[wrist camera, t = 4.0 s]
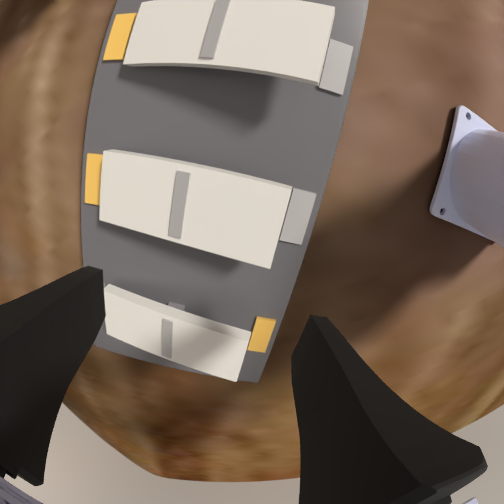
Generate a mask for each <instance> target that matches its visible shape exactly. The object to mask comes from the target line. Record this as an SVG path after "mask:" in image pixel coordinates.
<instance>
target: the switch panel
mask: <svg viewBox="0 0 504 504" xmlns="http://www.w3.org/2000/svg"><path fill="white" fill-rule="evenodd" d="M147 1H153V0H117V3H116V5H115V8H114V11H113V14H112V17H111V20H110V23H109V26H108V29H107V32H106V35H105V39H104V42H103V46H102V49H101V53H100V57H99V61H98V65H97V69H96V74H95V78H94V83H93V88H92V93H91V99H90V105H89V111H88V118H87V125H86V133H85V142H84V152H83V165H82V184H81V236H82V255H83V267H86V266H91V267H95V268H99V269H102V270H103V283H104V288H105V287H106V286H107V285H108V284H111V285H114V286H116V287H119V288H121V289H124V290H127V291H129V292H132V293H134V294H137V295H140V296H142V297H145V298H148V299H151V300H153V301H156V302H159V303H162V304H165V305H167V306H170V307H173V308H176V309H179V310H182V311H185V312H188V313H191V314H194V315H197V316H200V317H203V318H207V319H210V320H213V321H216V322H219V323H223V324H226V325H229V326H233V327H236V328H240V329H243V330H246V331H250V332H251V336H250V339H249V343H248V346H247V349H246V353H245V356H244V359H243V363H242V366H241V369H240V372H239V376H238V379H237V380H241V381H248V382H255V383H258V382H259V380H260V377H261V375H262V372H263V370H264V367H265V365H266V362H267V359H268V357H269V354H270V352H271V349H272V346H273V344H274V341H275V338H276V336H277V333H278V330H279V328H280V325H281V322H282V319H283V317H284V314H285V311H286V308H287V305H288V303H289V300H290V297H291V294H292V291H293V288H294V285H295V282H296V279H297V276H298V273H299V270H300V267H301V264H302V261H303V258H304V255H305V252H306V249H307V246H308V243H309V240H310V237H311V233H312V230H313V227H314V224H315V221H316V217H317V214H318V211H319V207H320V204H321V201H322V197H323V194H324V191H325V187H326V184H327V180H328V177H329V173H330V170H331V166H332V162H333V159H334V155H335V151H336V148H337V144H338V140H339V136H340V132H341V128H342V124H343V121H344V117H345V112H346V108H347V104H348V100H349V96H350V92H351V87H352V83H353V78H354V74H355V69H356V65H357V60H358V55H359V50H360V45H361V40H362V35H363V30H364V25H365V19H366V13H367V8H368V2H369V0H301V1H307V2H313V3H318V4H324V5H328V6H333V7H335V16H334V21H333V25H332V30H331V34H330V39H329V43H328V47H327V52H326V56H325V61H324V65H323V69H322V73H321V78H320V82H319V86H316V85H312V84H308V83H303V82H299V81H294V80H290V79H285V78H279V77H274V76H268V75H262V74H256V73H249V72H242V71H234V70H225V69H214V68H201V67H182V66H138V67H132V66H128V65H124V64H123V62H124V58H125V54H126V50H127V47H128V43H129V40H130V36H131V33H132V30H133V26H134V23H135V20H136V17H137V14H138V11H139V8H140V6H141V3H142V2H147ZM111 149H115V150H122V151H128V152H135V153H141V154H147V155H153V156H159V157H165V158H170V159H176V160H181V161H186V162H191V163H196V164H201V165H206V166H211V167H215V168H220V169H224V170H229V171H233V172H237V173H242V174H246V175H250V176H254V177H258V178H262V179H266V180H270V181H274V182H278V183H281V184H285V185H289V186H293V187H292V191H291V195H290V199H289V202H288V206H287V210H286V213H285V217H284V221H283V225H282V228H281V232H280V235H279V239H278V243H277V246H276V250H275V253H274V257H273V260H272V264H271V268H270V269H268V268H264V267H261V266H257V265H254V264H250V263H246V262H243V261H239V260H236V259H232V258H229V257H225V256H222V255H218V254H215V253H211V252H208V251H204V250H201V249H197V248H194V247H190V246H187V245H183V244H180V243H176V242H173V241H169V240H166V239H162V238H159V237H155V236H152V235H149V234H145V233H142V232H138V231H135V230H132V229H128V228H125V227H121V226H118V225H115V224H111V223H108V222H105V221H101V220H99V214H100V187H101V172H102V160H103V151H105V150H111ZM94 345H95V346H96V347H99V348H102V349H105V350H108V351H111V352H114V353H118V354H121V355H125V356H128V357H132V358H135V359H139V360H143V361H146V362H150V363H154V364H158V365H162V366H167V367H171V368H175V369H180V370H184V371H189V372H194V373H199V374H204V375H210V376H214V375H211V374H208V373H205V372H202V371H199V370H196V369H193V368H190V367H187V366H184V365H181V364H179V363H176V362H173V361H170V360H168V359H165V358H162V357H160V356H157V355H155V354H152V353H150V352H147V351H145V350H142V349H140V348H137V347H135V346H133V345H130V344H128V343H126V342H124V341H121V340H119V339H117V338H115V337H112V336H110V335H108V334H107V331H106V324H105V319H104V321H103V324H102V326H101V328H100V331H99V333H98V335H97V337H96V339H95V341H94ZM216 377H217V376H216Z"/></svg>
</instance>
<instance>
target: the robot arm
mask: <svg viewBox="0 0 504 504" xmlns="http://www.w3.org/2000/svg"><path fill="white" fill-rule="evenodd" d="M466 113H467V115H468V118H467V117H466ZM441 209H442V212H441V213H440V210H441ZM430 213H431V214H432V215H434V216H436V217H438V218H441V219H443V220H446V221H448V222H451V223H453V224H455V225H458V226H460V227H463V228H465V229H467V230H470V231H472V232H474V233H476V234H479V235H481V236H483V237H485V238H487V239H490V240H492V241H494V242H496V243H497V244H498V245H500V246H501V247H503V248H504V133H503V132H498V131H497V130H495V129H494V128H493V127H492V126H490V125H489V124H488V123H487V122H485V121H484V120H483V119H481V118H480V117H479V116H477V115H476V114H475V113H473V112H472V111H470V110H469V109H468V108H466V107H465V106H462V105H459V106H457V107H456V111H455V116H454V121H453V126H452V130H451V135H450V139H449V143H448V147H447V151H446V155H445V159H444V163H443V166H442V170H441V173H440V177H439V180H438V183H437V186H436V190H435V193H434V196H433V199H432V202H431V205H430ZM105 317H106V311H105V299H104V283H103V270H102V269H99V268H95V267H91V266H86V267H83V268H81V269H79V270H76V271H74V272H72V273H70V274H68V275H66V276H64V277H62V278H60V279H57V280H55V281H53V282H51V283H49V284H47V285H45V286H43V287H41V288H39V289H37V290H35V291H32V292H30V293H28V294H26V295H24V296H21V297H19V298H17V299H15V300H12V301H10V302H7V303H5V304H2V305H0V504H43V503H41V502H39V501H38V500H36V499H34V498H32V497H31V496H29V495H27V494H26V493H24V492H23V491H21V490H20V489H18V488H16V487H15V486H13V485H12V484H10V483H9V482H7V481H6V480H5V479H4V476H5V474H8V475H9V476H11V477H12V478H14V479H15V478H16V477H17V475H18V476H19V477H21V478H22V479H24V480H25V481H27V482H29V483H30V484H32V485H34V486H39V485H42V484H43V482H44V471H45V464H46V458H47V452H48V447H49V443H50V439H51V435H52V431H53V428H54V424H55V421H56V417H57V414H58V412H59V409H60V406H61V403H62V401H63V398H64V395H65V393H66V391H67V389H68V387H69V385H70V383H71V381H72V379H73V377H74V375H75V374H76V372H77V370H78V368H79V367H80V365H81V363H82V361H83V360H84V358H85V356H86V355H87V353H88V351H89V350H90V348H91V346H92V344H93V343H94V341H95V339H96V337H97V335H98V333H99V331H100V328H101V326H102V324H103V321H104V319H105ZM292 386H293V393H294V400H295V407H296V414H297V421H298V428H299V435H300V454H301V470H300V494H299V504H451V502H452V500H451V497H450V495H451V494H452V493H454V492H456V491H457V490H459V489H461V488H462V487H464V486H465V485H467V484H469V483H470V482H472V481H473V480H475V479H476V478H477V477H479V476H480V475H481V474H483V473H484V472H485V471H486V469H487V467H488V466H487V463H486V460H485V458H484V456H483V453H482V451H481V449H480V447H479V446H476V445H474V444H472V443H470V442H467V441H466V440H463V439H461V438H459V437H457V436H455V435H453V434H451V433H449V432H448V431H446V430H444V429H443V428H441V427H439V426H438V425H436V424H434V423H433V422H431V421H430V420H428V419H427V418H426V417H424V416H423V415H421V414H420V413H419V412H417V411H416V410H415V409H413V408H412V407H411V406H410V405H408V404H407V403H406V402H405V401H404V400H402V399H401V398H400V397H399V396H398V395H397V394H396V393H395V392H393V391H392V390H391V389H390V388H389V387H388V386H387V385H386V384H385V383H384V382H383V381H382V380H381V379H380V378H379V377H378V376H377V375H376V374H375V373H374V372H373V371H372V370H371V368H370V367H369V366H368V365H367V364H366V363H365V362H364V361H363V359H362V358H361V357H360V356H359V355H358V354H357V352H356V351H355V350H354V349H353V348H352V346H351V345H350V344H349V343H348V342H347V340H346V339H345V338H344V337H343V336H342V334H341V333H340V332H339V331H338V330H337V328H336V327H335V326H334V325H333V324H332V323H331V321H330V320H329V319H328V318H327V317H320V316H314V315H310V317H309V319H308V322H307V324H306V326H305V328H304V331H303V333H302V335H301V337H300V339H299V341H298V344H297V346H296V348H295V350H294V352H293V354H292ZM463 504H478V501H477V498H476V497H473V498H472V499H470V500H468V501H466V502H465V503H463Z"/></svg>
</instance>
